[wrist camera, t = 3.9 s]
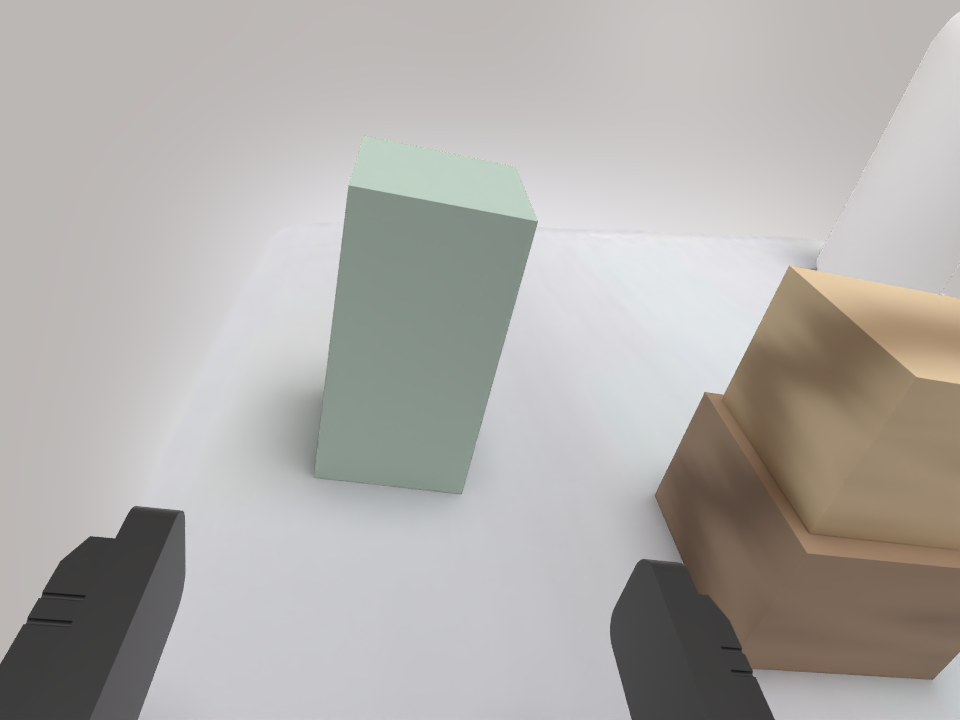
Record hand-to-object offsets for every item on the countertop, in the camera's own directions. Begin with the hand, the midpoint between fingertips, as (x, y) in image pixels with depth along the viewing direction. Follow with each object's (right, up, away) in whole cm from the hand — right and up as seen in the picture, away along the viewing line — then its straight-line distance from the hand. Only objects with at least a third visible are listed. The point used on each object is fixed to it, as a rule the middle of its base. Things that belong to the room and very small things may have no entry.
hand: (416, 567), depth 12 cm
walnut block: (+11, -4, +11) cm, 16 cm away
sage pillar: (-2, +1, +13) cm, 13 cm away
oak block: (+12, 0, +9) cm, 15 cm away
